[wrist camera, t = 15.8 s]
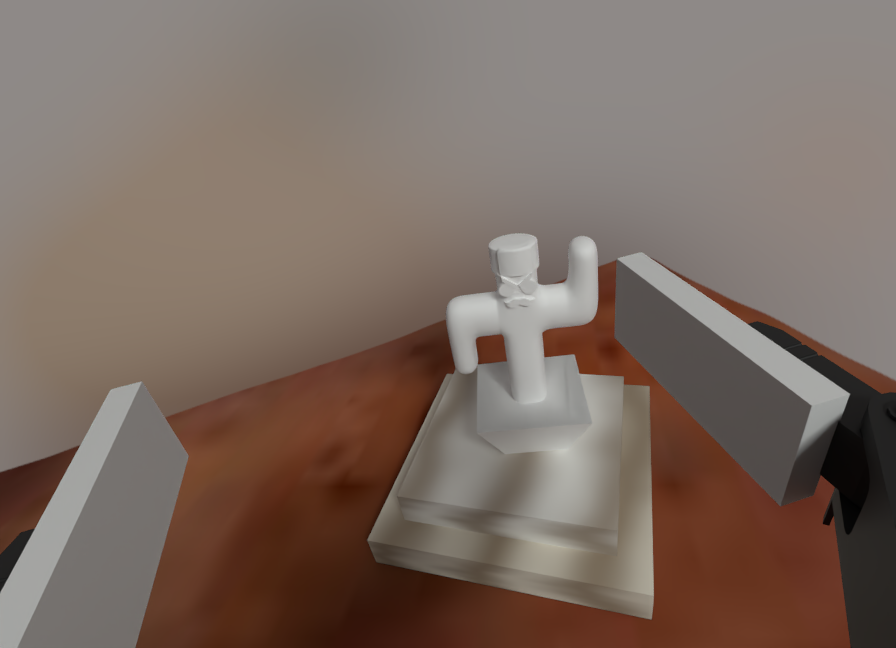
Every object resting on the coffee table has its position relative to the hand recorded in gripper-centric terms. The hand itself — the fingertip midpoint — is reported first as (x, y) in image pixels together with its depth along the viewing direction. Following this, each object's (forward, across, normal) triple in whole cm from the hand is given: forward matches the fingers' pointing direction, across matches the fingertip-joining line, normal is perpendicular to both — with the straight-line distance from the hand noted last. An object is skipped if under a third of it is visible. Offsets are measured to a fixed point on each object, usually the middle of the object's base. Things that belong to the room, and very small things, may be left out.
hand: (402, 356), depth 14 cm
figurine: (+14, +8, -19) cm, 25 cm away
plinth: (+14, +7, -24) cm, 29 cm away
